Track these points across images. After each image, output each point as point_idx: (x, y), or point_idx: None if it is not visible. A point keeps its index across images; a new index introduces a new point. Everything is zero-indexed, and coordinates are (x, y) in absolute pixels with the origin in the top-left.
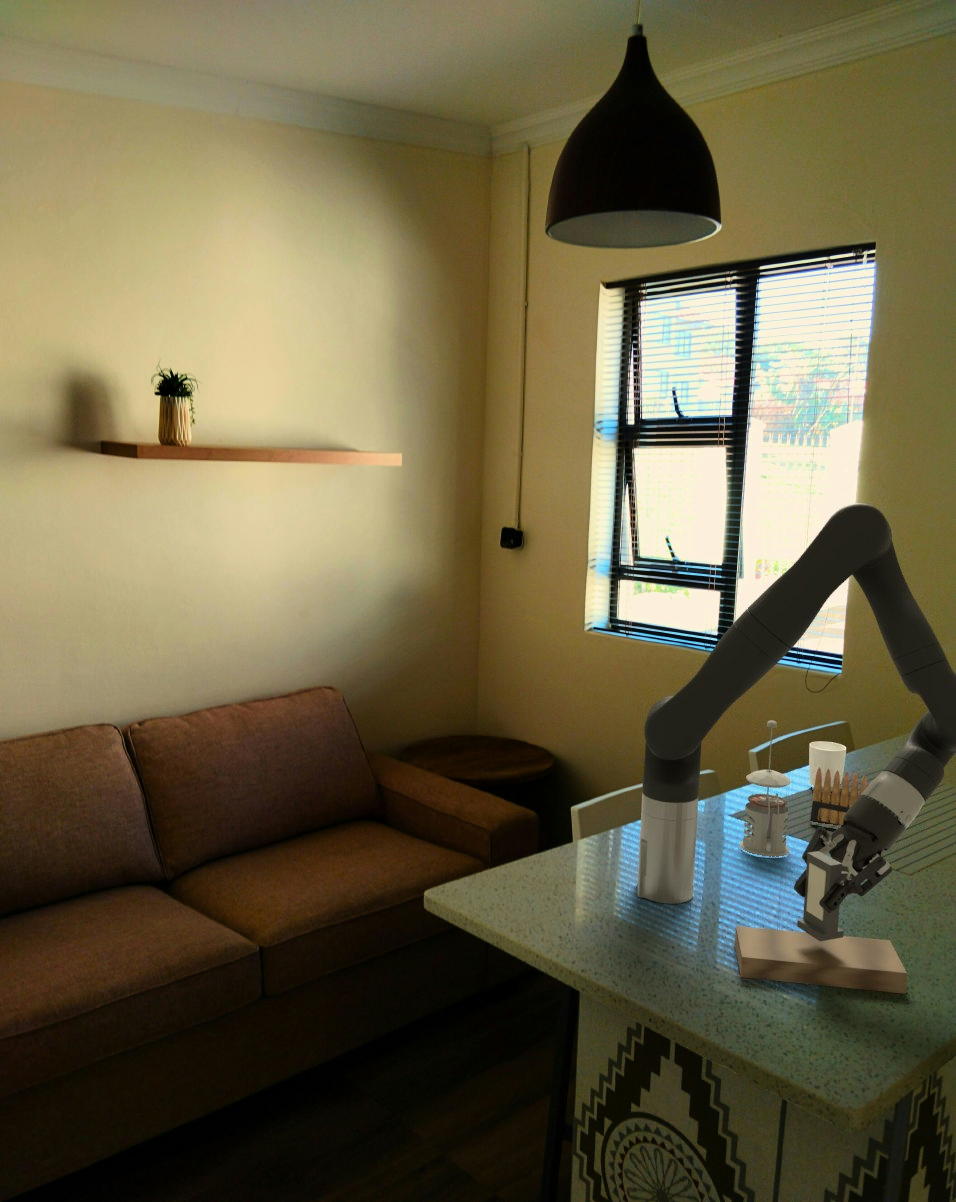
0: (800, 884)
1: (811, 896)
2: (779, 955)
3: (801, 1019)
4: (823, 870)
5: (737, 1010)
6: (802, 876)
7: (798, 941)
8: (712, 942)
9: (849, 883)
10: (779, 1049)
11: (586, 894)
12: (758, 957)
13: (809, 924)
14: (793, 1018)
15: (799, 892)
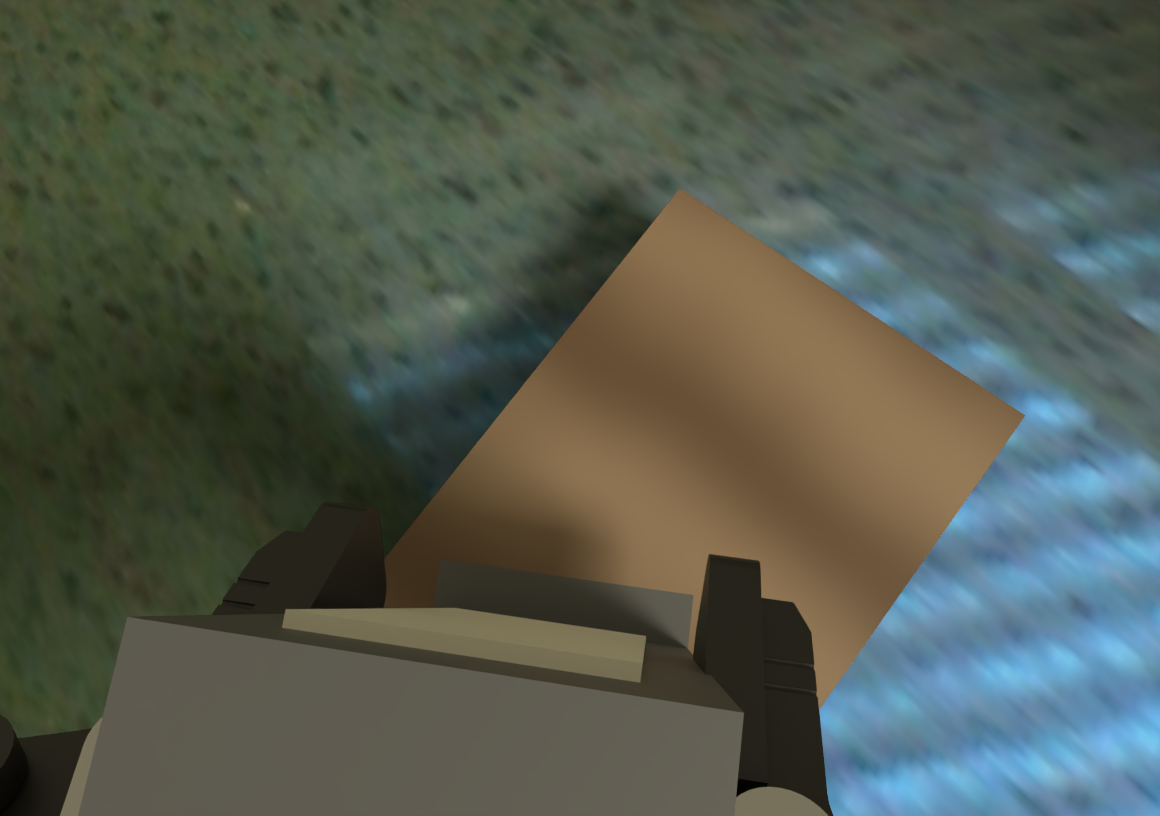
0: (709, 597)
1: (585, 633)
2: (602, 381)
3: (285, 232)
4: (329, 621)
5: (465, 49)
6: (757, 669)
7: (691, 623)
8: (1050, 351)
9: (4, 736)
10: (190, 18)
11: None
12: (637, 262)
13: (593, 615)
14: (307, 208)
15: (703, 591)
